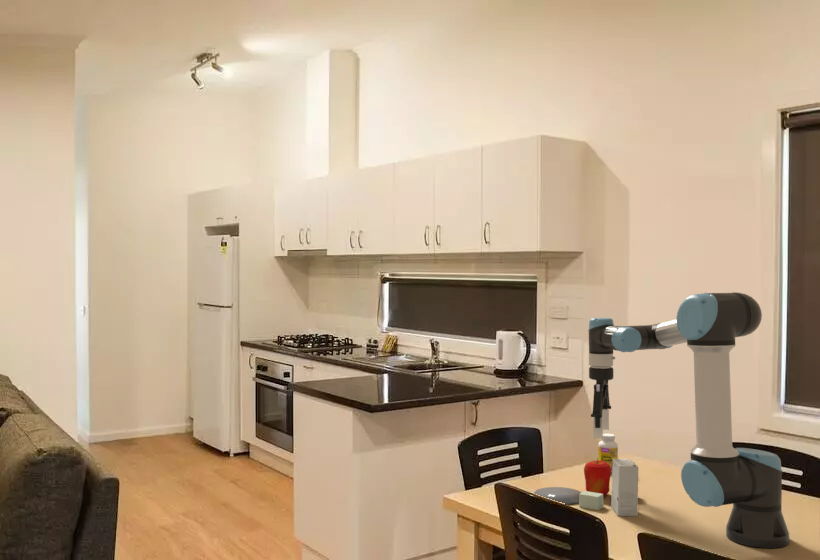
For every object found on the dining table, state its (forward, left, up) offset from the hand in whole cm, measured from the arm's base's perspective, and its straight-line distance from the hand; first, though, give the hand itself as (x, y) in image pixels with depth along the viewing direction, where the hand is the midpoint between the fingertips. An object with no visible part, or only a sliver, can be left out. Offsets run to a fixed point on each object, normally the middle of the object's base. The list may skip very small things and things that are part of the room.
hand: (601, 433), depth 244 cm
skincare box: (-16, -9, -20) cm, 27 cm away
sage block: (-14, +1, -19) cm, 24 cm away
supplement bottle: (+30, +2, -19) cm, 36 cm away
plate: (-8, +12, -19) cm, 24 cm away
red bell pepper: (-1, +1, -19) cm, 19 cm away
